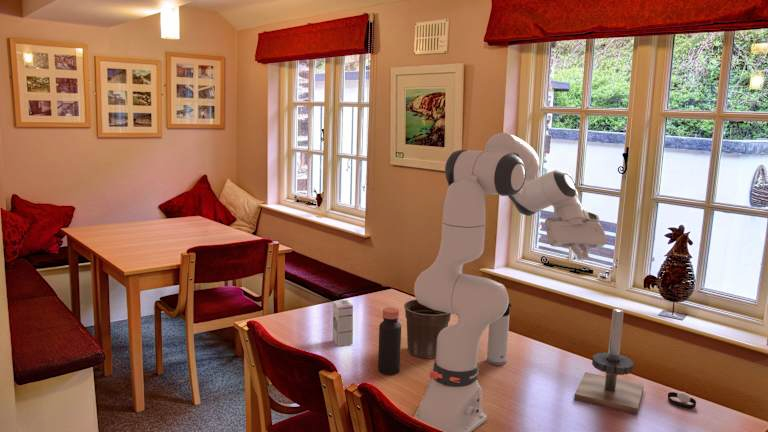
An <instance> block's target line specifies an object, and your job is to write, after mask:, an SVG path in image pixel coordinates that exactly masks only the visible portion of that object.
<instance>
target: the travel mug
mask: <svg viewBox="0 0 768 432" xmlns="http://www.w3.org/2000/svg"><path fill="white" fill-rule="evenodd" d="M510 308H512V303H510V302H509V303H508V307H507V310H506V312H505V313H504V315H503V316H502V317H501V318H499V319H498V320H496V321H494V322H492V323H491V324H490V325H488V336H487V351H486V361H487V363H489V364H490V365H493V366H504V365H505V364H506V363H507V357H508V356H507V355H508V354H507V353H508V340H509V339H508V338H509V330H510V329H509V328H510V315H511V314H510V311H511V309H510Z"/></svg>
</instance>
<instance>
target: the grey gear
mask: <svg viewBox="0 0 768 432" xmlns="http://www.w3.org/2000/svg"><path fill="white" fill-rule="evenodd" d="M607 360H608V352H598V353H594V354H593V356H592V362H591V364H592V366H593V367H594V368H595V369H596V370H598V371H599V372H603V373H605V374H606V373H609V374H614V373H615V374H616V375H617V376H624V375H630V374H632V373H633V370H634V365H635V364H634V361H633V360H632V359H631V358H629V357H628V356H625V355H622V354H621V355H620V353H619V361H618V362H619V363H612V362H609V361H607Z"/></svg>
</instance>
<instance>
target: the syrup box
mask: <svg viewBox="0 0 768 432" xmlns="http://www.w3.org/2000/svg"><path fill="white" fill-rule="evenodd" d="M353 324H354V304H352V303H351V302H350V301H349V300H348V299H343V300H342V299H341V300H334V301H332V342H333V343H334V344H335V343H336V344H335V345H336V346H337V347H343V346H342V345H347V346H351V344H353V343H354V342H353V341H354V340H353V339H354V338H353V337H354V325H353ZM353 345H354V344H353Z"/></svg>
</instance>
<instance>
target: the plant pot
mask: <svg viewBox="0 0 768 432" xmlns="http://www.w3.org/2000/svg"><path fill="white" fill-rule="evenodd" d="M403 308H404V310H405V311H404V312H405V313H404V315H405V319H406V337H407V338H406V341H407V343H406V344H407V345H406V346H407V351H408V353H409V354H410V355H411V356H413V357H415V358H419V359H430V358H432V359H436V349H437V337H438V334H439V333H440V331H441V330H442V329H444V328H445V327H447V326H449V322H450V321H451V315H452V314H451V313H446V312H441V311H437V310H433V309H431V308H428V307H426V306H424V305H422V304H420V303H418V301H417V299H416V298H414V299H411V300H409V301H406V302H404V304H403Z"/></svg>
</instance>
